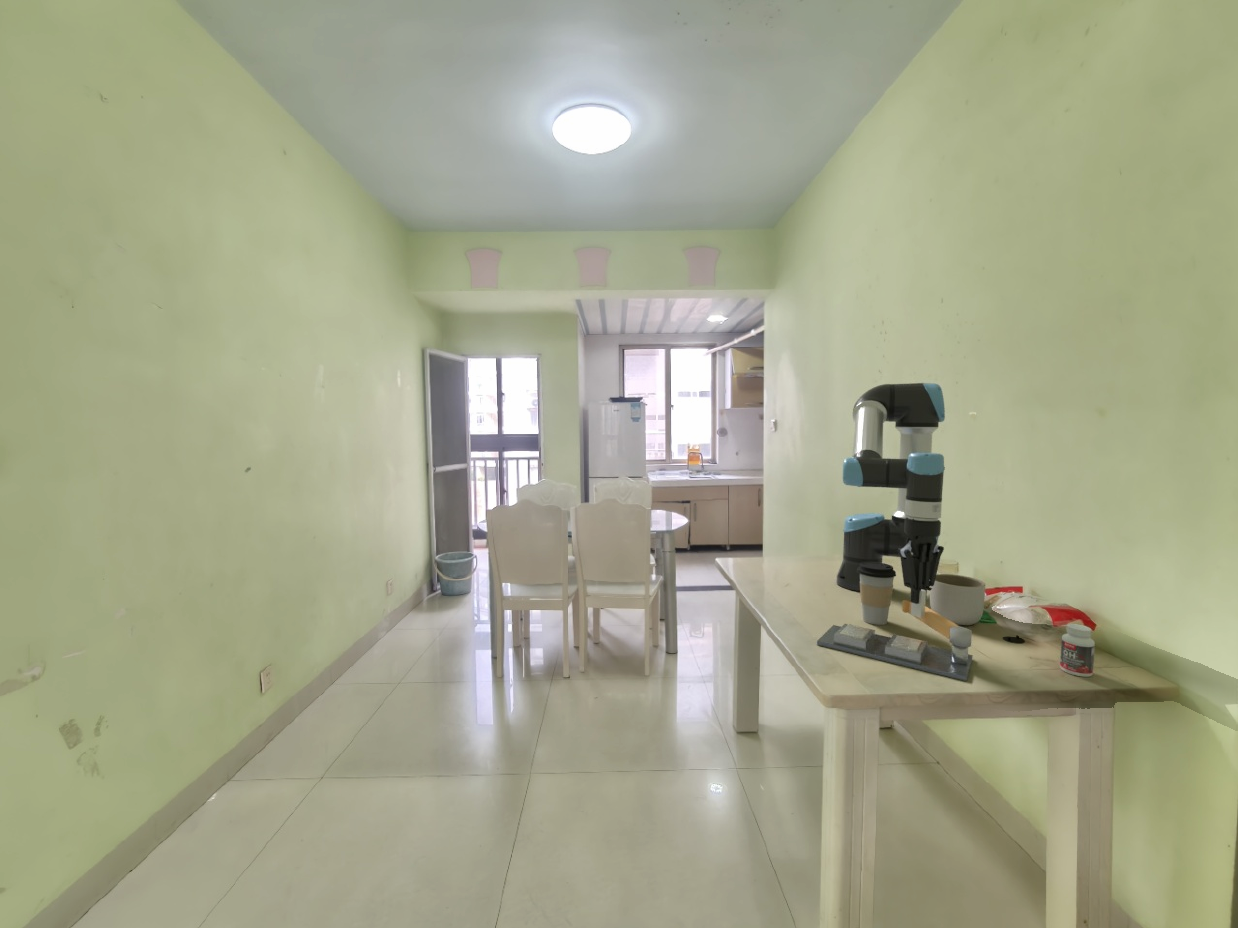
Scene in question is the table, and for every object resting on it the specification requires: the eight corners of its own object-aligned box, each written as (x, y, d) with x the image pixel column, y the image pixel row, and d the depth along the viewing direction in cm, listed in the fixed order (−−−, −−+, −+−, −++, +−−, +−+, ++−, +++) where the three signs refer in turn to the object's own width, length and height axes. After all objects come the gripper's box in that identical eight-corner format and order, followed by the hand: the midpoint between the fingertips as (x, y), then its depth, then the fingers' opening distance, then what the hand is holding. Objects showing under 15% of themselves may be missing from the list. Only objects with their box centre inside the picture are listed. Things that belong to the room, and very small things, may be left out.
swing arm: (975, 647, 116) (976, 633, 116) (956, 647, 116) (957, 633, 116) (918, 611, 138) (918, 599, 138) (902, 611, 138) (902, 599, 138)
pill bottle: (1059, 672, 115) (1062, 627, 115) (1060, 663, 119) (1062, 620, 119) (1093, 680, 112) (1096, 633, 111) (1092, 671, 116) (1095, 626, 115)
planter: (954, 630, 139) (956, 588, 138) (918, 613, 151) (919, 575, 150) (995, 627, 141) (997, 585, 140) (956, 610, 153) (958, 572, 153)
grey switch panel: (833, 628, 140) (833, 610, 139) (972, 659, 121) (973, 639, 121) (817, 644, 129) (817, 625, 129) (966, 681, 111) (967, 658, 111)
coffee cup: (898, 628, 140) (901, 571, 139) (859, 625, 142) (861, 569, 141) (888, 616, 149) (890, 562, 148) (851, 613, 151) (853, 560, 150)
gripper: (917, 522, 123) (912, 624, 124) (956, 519, 128) (950, 617, 130) (889, 517, 130) (884, 614, 131) (927, 514, 135) (922, 607, 136)
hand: (917, 615), depth 130 cm, fingers closed
